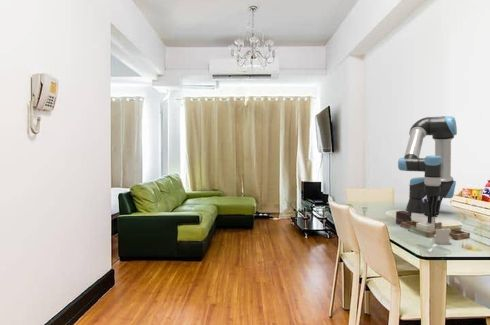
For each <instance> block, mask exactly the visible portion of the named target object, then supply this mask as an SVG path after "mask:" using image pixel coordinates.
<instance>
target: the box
mask: <svg viewBox="0 0 490 325" xmlns="http://www.w3.org/2000/svg"><path fill="white" fill-rule="evenodd" d="M412 213H413V212H410V211H407V210H398V211H396V212H395V214H396V215H395V224H397V225H401V222H407V221H412Z"/></svg>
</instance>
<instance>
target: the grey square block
mask: <svg viewBox="0 0 490 325" xmlns="http://www.w3.org/2000/svg"><path fill="white" fill-rule="evenodd" d="M435 231H436V234H435V235H434V238H433V240H434V242H433V243H434V244H436V245H450V239H451V240H453V239H452V237H451V236H449V232H450V229H444V228H442V229H439V228H435Z"/></svg>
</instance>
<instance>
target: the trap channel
mask: <svg viewBox="0 0 490 325" xmlns="http://www.w3.org/2000/svg"><path fill="white" fill-rule="evenodd" d="M416 223H420V222H419V221H416V220H411V221H407V222H401V225H400V224H399V225H400V228H404V229H407V232H411V233H413V234H416V235H420V236H422V237H426V238H433V237H434V235H435V234H436V230H435V231H430V232H427V231H424V230H421V229H417V228H416ZM436 227H439V228H442V222H439V221H438V222H435V229H437V228H436ZM470 235H471V233H470V232H467V231H464V230H462V228H461V227H451V228H450V231H449V236H451V237H452V239H451V240H454V241H460V240H465V239H466V240H467V239H470V238H471V236H470Z"/></svg>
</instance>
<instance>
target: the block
mask: <svg viewBox="0 0 490 325" xmlns="http://www.w3.org/2000/svg"><path fill="white" fill-rule="evenodd" d="M416 228H417V229H421V230H424V231H427V232H430V231H436V228H435V225H434V224H430V223H428V222H426V221H422V222H419V223H416Z"/></svg>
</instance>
